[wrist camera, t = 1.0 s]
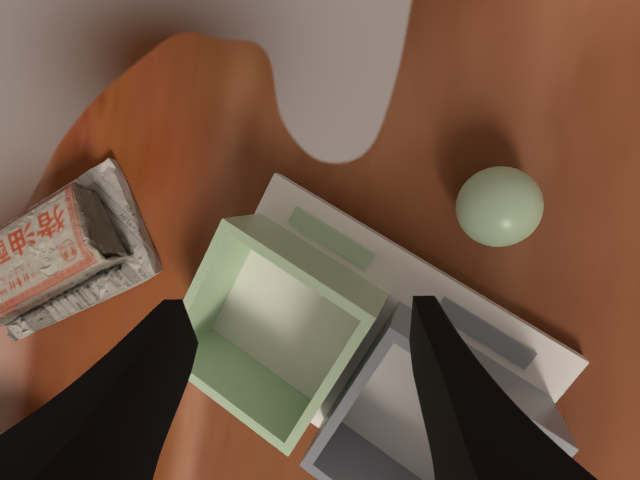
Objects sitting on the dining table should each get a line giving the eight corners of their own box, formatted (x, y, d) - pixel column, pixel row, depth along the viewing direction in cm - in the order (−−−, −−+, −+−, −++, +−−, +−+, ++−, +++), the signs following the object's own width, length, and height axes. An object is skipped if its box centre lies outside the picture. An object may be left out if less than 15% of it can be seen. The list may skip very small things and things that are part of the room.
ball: (550, 191, 23) (574, 191, 19) (505, 255, 24) (518, 269, 20) (480, 154, 24) (489, 147, 19) (440, 218, 25) (440, 224, 21)
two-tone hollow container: (583, 355, 23) (629, 409, 18) (451, 514, 27) (454, 601, 21) (280, 173, 28) (237, 169, 22) (200, 331, 31) (146, 363, 25)
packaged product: (-30, 358, 33) (-76, 248, 33) (28, 338, 38) (-13, 241, 38) (124, 284, 27) (67, 151, 27) (170, 270, 32) (121, 157, 32)
